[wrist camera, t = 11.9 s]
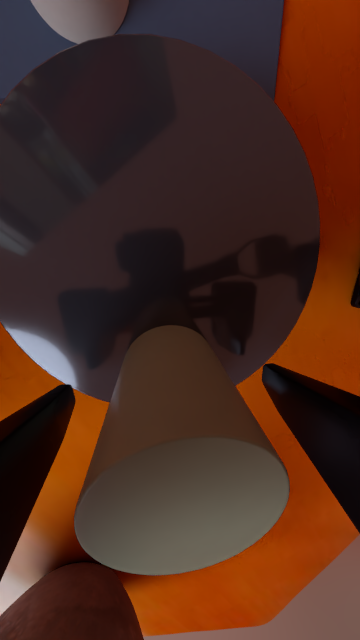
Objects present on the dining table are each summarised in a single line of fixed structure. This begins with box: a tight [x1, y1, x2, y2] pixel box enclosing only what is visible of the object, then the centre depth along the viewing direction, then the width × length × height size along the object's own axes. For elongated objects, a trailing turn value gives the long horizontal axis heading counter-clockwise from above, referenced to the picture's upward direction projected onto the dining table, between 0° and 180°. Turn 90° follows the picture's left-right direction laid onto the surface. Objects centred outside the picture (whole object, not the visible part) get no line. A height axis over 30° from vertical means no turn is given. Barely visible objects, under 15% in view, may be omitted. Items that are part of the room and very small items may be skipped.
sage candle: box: [74, 325, 290, 575], centre depth 7 cm, size 5×5×6 cm
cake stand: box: [0, 34, 320, 402], centre depth 11 cm, size 15×15×5 cm
